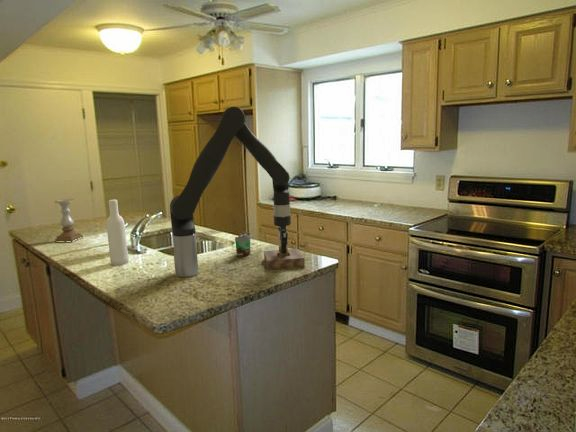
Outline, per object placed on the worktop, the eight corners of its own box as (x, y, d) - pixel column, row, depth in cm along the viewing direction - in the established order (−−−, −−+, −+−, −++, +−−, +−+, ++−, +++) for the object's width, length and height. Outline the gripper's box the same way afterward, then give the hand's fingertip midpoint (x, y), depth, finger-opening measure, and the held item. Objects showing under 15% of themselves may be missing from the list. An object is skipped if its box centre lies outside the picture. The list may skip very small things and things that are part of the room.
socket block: (267, 269, 177) (267, 260, 177) (264, 259, 193) (264, 251, 192) (304, 266, 180) (304, 258, 179) (298, 256, 195) (297, 248, 195)
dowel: (279, 260, 184) (278, 234, 181) (278, 257, 188) (277, 232, 186) (288, 259, 184) (288, 233, 182) (287, 257, 188) (286, 231, 186)
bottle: (107, 263, 194) (100, 200, 188) (124, 259, 200) (117, 198, 194) (115, 266, 189) (108, 201, 183) (131, 262, 194) (125, 199, 189)
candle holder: (67, 237, 251) (61, 198, 246) (83, 238, 249) (78, 198, 245) (54, 242, 240) (49, 201, 236) (72, 242, 238) (66, 201, 234)
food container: (248, 258, 196) (247, 237, 194) (235, 257, 197) (234, 237, 195) (255, 251, 208) (254, 231, 206) (243, 250, 209) (242, 231, 207)
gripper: (271, 212, 189) (273, 248, 192) (275, 217, 175) (277, 257, 178) (288, 211, 190) (289, 247, 193) (293, 216, 176) (294, 255, 179)
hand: (283, 251), depth 185 cm, fingers closed on dowel, 4 cm apart
